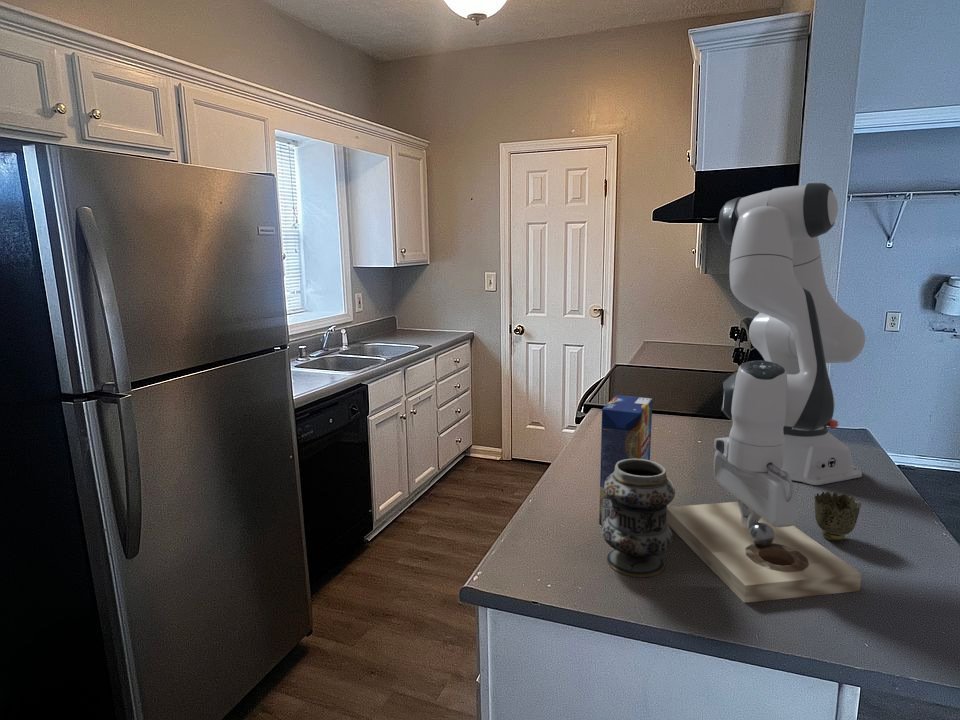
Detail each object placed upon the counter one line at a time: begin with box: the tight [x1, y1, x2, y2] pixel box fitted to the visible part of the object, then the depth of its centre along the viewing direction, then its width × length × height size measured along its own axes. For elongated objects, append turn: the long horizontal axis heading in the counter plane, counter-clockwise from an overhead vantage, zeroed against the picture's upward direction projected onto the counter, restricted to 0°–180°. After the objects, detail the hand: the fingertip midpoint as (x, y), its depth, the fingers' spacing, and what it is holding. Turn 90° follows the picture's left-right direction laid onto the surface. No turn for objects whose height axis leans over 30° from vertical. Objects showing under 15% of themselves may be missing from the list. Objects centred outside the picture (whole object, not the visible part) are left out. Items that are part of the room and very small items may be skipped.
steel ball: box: [749, 522, 774, 546], centre depth 103 cm, size 4×4×4 cm
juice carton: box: [598, 394, 653, 525], centre depth 120 cm, size 12×8×24 cm, turn 154°
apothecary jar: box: [601, 459, 676, 578], centre depth 102 cm, size 12×12×18 cm
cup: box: [814, 491, 862, 543], centre depth 110 cm, size 8×7×8 cm
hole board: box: [666, 501, 863, 604], centre depth 106 cm, size 20×28×3 cm
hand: (749, 526), depth 106 cm, fingers closed
